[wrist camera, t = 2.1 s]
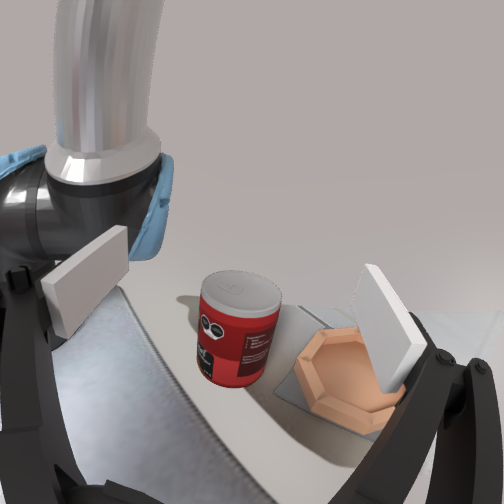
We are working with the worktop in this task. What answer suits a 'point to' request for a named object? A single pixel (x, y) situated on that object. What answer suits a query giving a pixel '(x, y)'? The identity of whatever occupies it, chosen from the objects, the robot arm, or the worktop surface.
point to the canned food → (236, 327)
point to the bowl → (344, 381)
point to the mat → (295, 396)
